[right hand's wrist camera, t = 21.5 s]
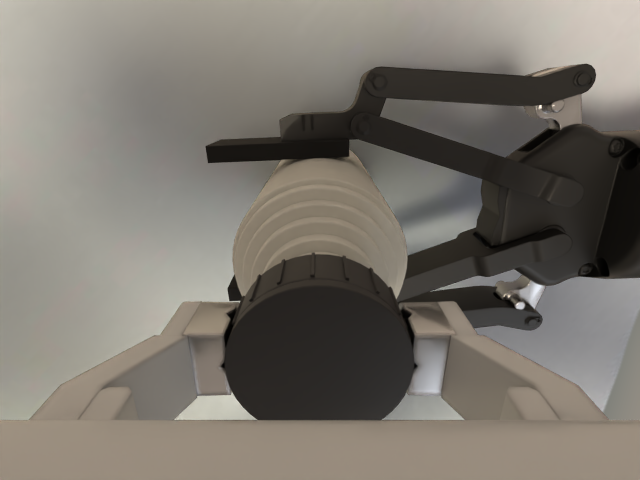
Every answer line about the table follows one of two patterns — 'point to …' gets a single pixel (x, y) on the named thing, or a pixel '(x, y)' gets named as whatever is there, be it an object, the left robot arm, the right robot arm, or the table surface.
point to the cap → (319, 343)
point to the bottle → (320, 221)
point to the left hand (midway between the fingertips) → (225, 221)
